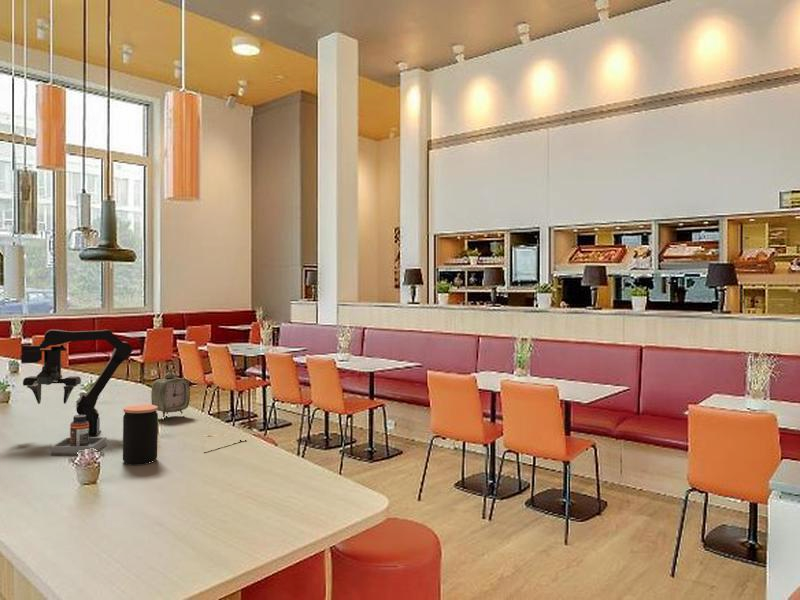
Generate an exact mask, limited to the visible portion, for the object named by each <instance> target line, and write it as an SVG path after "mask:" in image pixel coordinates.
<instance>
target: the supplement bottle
mask: <svg viewBox="0 0 800 600" xmlns="http://www.w3.org/2000/svg"><path fill="white" fill-rule="evenodd" d="M69 425H70V426H69V433H70V435H69V438H70V446H89V437H90V436H89V422H88V421H86V415H79V414H77V415H76V414H75V415H73V420H72V422H71V423H70V424H69Z"/></svg>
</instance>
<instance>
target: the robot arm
mask: <svg viewBox="0 0 800 600" xmlns="http://www.w3.org/2000/svg"><path fill="white" fill-rule="evenodd" d="M84 341H85V342H86V341H106V342H107V343H109V344H110V345H111V346H112V347H113V348H114V349H113V350H112V353H111V357H110V359H109V360H108V362H107V363H106V365H105V367H104V368H103V369H102V371H101V372H100V375H99V376H98V377H97V379H96V380H95V382H94V383H93V384H92V386H91V388H90V390H89V391H88V392H86V393H83V392H81V393H80V397H79V398H78V399H77V400H76V401H75V403H76V405H75V409H76V413H77V415H86V421H88V422H89V437H92V436H93V437H94V436H95V437H96V436H97V435H99V434H100V433H101V432H102V430H100V426H101V425H100V424H101V421H100V420H101V419H100V418H101V417H99V416H100V413H99V412H98V409H96V408H95V407H96V404H97V402H98V399H99V397H100V395H101V393H102V392H103V390H104V389H105V387H106V386H107V384H108V383H109V381H110V380H111V378H112V376H113V375H114V374H115V372H116V371H117V369H118V368H119V366H120V365H122V363H123V362H125V360H127V358H128V357H129V356H130V355H131V354H132V352H133V347H132V345H131V344H130V343H128V341H122V340H121V339H120V338H118V336H116V335H115V334H114V333H113V332H112V331H111V330H109V329H103V330H102V329H100V330H99V329H98V330H80V331H79V330H77V331H70V330H69V331H68V330H64V329H49V330H47V331H46V332H45V334H44V336H43V340H42V341H41V342H40V343H39V344H38V345H25V344H24V345H22V346H21V356H20V364H22V365H25V364H39V362H40V361H43V365H42V368H41V371H40V372H39V373H38V374H37V375H36V376H34V375H31V376H27V377H25V378H23V380H22V386H24V387H26V388H28V389H30V390H31V391H32V393H33V394H34V397H35V400H36V402H37V405H38V404H39V405H40V404H41V401H42V385H46V386H49V385H52V384H63V385H64V386H63V391H64V392H63V404H64V405H65V404H67V402H68V399H69V397H70V395H71V393H72V391H73V390H74V388H75V387H77V386H78V385H81V383H82V379H81V377H80V376H78V375H77V376H75V375H74V376H72V375H71V376H67V377H65V378H63V375H62V368H63V364H62V352H65V351H68V350H67V347H65V346H64V344H67V343H70V342H71V343H72V342H84ZM58 345H59V346H58ZM50 346H51V347H50ZM48 347H50V348H48Z"/></svg>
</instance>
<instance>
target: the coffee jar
mask: <svg viewBox="0 0 800 600" xmlns="http://www.w3.org/2000/svg"><path fill="white" fill-rule="evenodd" d="M157 410H158V406H156V405H152V404H136V405H134V404H133V405H129V406H125V407H123V412H124V414H123V416H122V417H123V419H122V421H123V422H122V461H123V462H124V464H126V463H127V464H126V465H128V464H144V465H146V464H145V463H149V462H152V461H154V460H155V461H156V460H157V458H158V429H159V428H158V423H159V421H158V419H159V414H158V412H157ZM155 461H154V462H155ZM152 463H153V462H152ZM149 464H150V463H149Z"/></svg>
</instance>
